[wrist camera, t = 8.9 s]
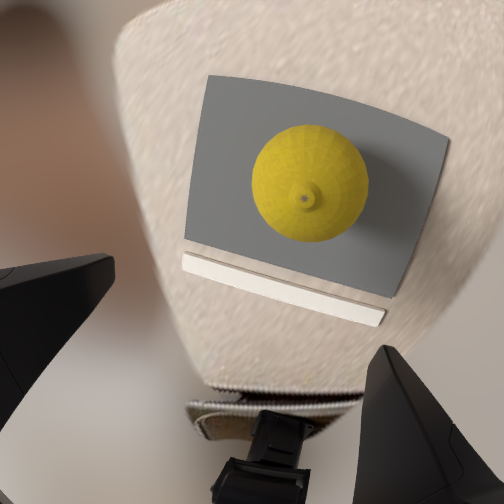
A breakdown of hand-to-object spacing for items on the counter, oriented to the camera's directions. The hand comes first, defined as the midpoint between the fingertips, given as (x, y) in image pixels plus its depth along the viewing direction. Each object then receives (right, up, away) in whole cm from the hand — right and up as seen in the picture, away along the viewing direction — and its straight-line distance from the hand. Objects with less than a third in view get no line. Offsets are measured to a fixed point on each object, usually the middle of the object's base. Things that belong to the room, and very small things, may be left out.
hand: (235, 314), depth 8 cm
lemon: (+4, +7, +9) cm, 12 cm away
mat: (+4, +6, +9) cm, 12 cm away
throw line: (+3, -1, +13) cm, 13 cm away
